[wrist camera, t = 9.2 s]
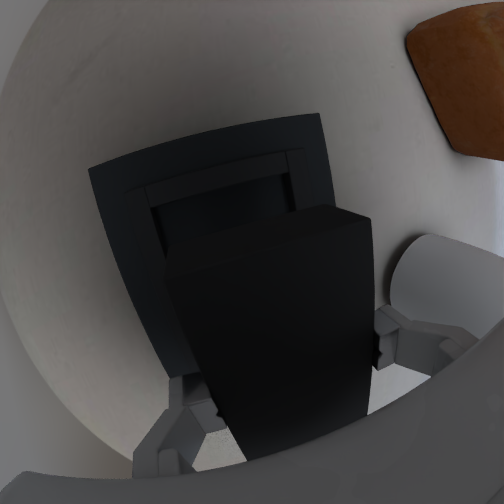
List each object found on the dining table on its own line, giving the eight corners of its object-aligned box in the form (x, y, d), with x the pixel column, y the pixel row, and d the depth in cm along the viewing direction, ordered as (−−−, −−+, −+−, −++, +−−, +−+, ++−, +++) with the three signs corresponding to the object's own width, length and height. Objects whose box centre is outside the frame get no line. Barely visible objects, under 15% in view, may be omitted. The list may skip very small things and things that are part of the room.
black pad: (341, 384, 14) (367, 420, 11) (237, 420, 13) (249, 465, 10) (325, 202, 10) (371, 217, 8) (167, 245, 10) (161, 278, 7)
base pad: (341, 342, 22) (354, 356, 20) (182, 393, 20) (184, 412, 18) (312, 114, 16) (328, 109, 14) (92, 168, 14) (80, 169, 12)
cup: (420, 206, 20) (568, 258, 7) (450, 262, 23) (558, 320, 10) (361, 285, 21) (498, 394, 8) (402, 328, 24) (501, 414, 11)
